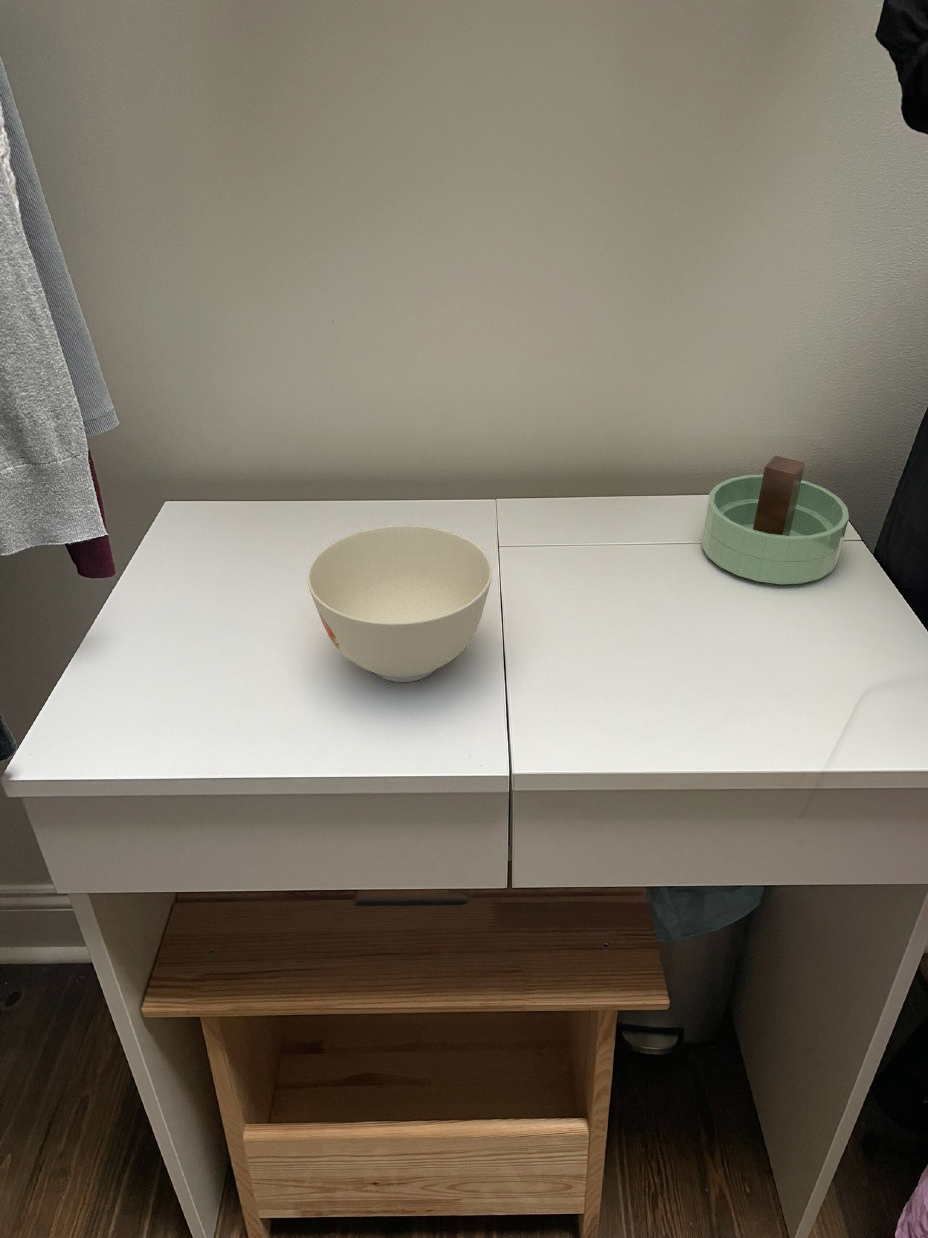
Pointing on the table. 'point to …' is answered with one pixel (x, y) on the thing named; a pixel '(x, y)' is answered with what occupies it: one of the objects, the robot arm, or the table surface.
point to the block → (778, 496)
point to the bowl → (400, 597)
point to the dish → (770, 554)
